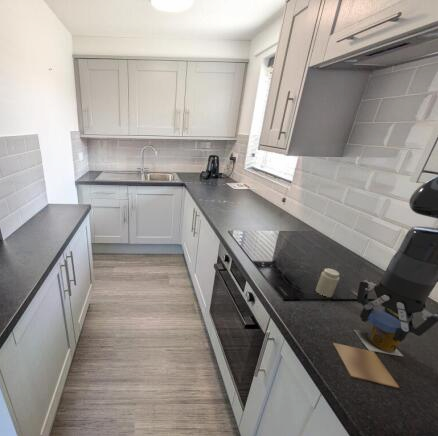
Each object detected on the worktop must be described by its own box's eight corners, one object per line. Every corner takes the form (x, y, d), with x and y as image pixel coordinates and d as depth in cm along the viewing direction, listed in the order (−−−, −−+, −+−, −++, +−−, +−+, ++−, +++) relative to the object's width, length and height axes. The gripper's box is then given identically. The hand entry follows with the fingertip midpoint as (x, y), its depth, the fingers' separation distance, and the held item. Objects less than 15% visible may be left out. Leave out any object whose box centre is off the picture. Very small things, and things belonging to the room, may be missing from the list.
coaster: (373, 352, 65) (373, 351, 65) (398, 388, 56) (399, 387, 56) (332, 343, 67) (332, 342, 67) (350, 376, 58) (351, 375, 58)
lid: (369, 325, 56) (372, 319, 55) (366, 311, 60) (368, 306, 60) (401, 337, 53) (405, 331, 52) (395, 322, 57) (399, 317, 57)
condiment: (403, 356, 64) (424, 324, 59) (369, 351, 65) (386, 318, 61) (383, 335, 70) (401, 304, 66) (352, 330, 72) (367, 299, 67)
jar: (326, 288, 91) (335, 268, 87) (335, 298, 86) (344, 276, 82) (312, 287, 91) (320, 266, 88) (320, 296, 86) (328, 275, 83)
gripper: (363, 260, 55) (338, 313, 62) (454, 298, 43) (412, 360, 50) (379, 254, 58) (354, 306, 65) (468, 288, 46) (427, 348, 53)
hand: (379, 329), depth 57 cm, fingers closed on lid, 5 cm apart
